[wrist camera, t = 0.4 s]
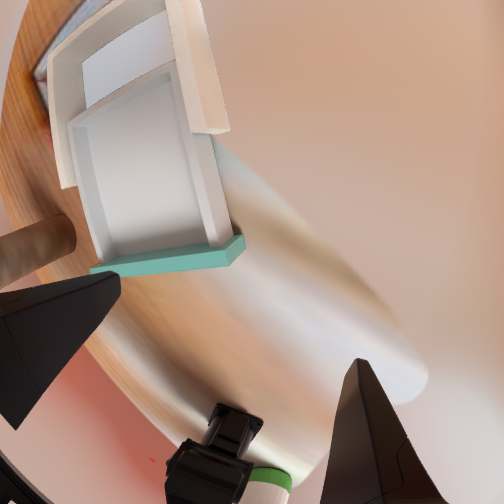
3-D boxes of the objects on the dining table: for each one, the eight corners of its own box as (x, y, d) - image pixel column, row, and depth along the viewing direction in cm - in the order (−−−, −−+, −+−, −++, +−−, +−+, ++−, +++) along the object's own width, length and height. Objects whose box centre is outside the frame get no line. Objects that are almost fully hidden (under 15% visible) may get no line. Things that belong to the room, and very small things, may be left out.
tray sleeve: (230, 130, 21) (206, 126, 17) (92, 181, 27) (61, 189, 23) (196, -14, 17) (172, -34, 13) (75, 60, 22) (47, 56, 18)
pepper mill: (76, 258, 32) (-5, 303, 19) (54, 244, 32) (-22, 281, 20) (76, 221, 29) (-15, 260, 17) (54, 209, 30) (-30, 241, 18)
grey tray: (246, 247, 24) (228, 266, 20) (117, 265, 29) (92, 279, 25) (203, 63, 19) (179, 50, 16) (83, 125, 24) (55, 127, 21)
